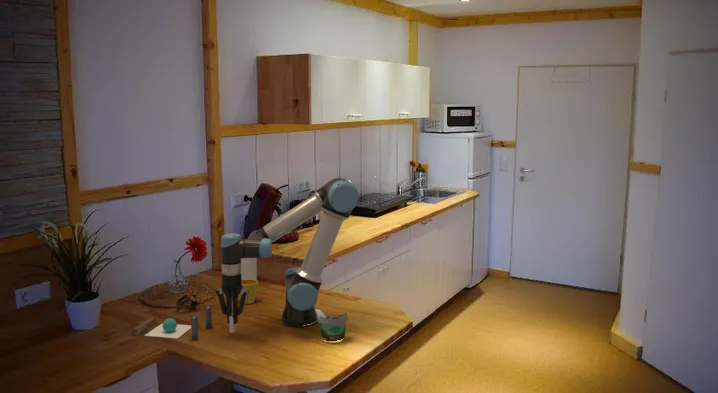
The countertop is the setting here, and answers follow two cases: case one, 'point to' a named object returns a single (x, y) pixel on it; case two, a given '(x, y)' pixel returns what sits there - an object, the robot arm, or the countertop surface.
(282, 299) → the countertop surface
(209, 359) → the countertop surface
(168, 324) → the ball
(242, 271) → the utensil holder
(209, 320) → the post
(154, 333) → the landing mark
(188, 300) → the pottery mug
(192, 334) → the post
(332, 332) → the food container
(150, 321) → the wall
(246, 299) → the plant pot
